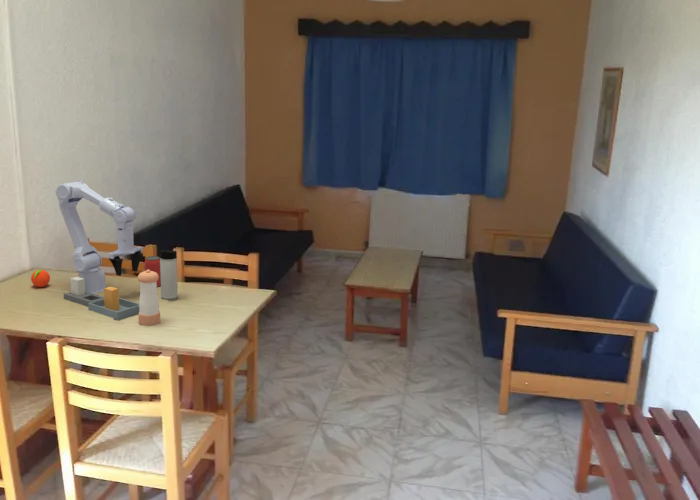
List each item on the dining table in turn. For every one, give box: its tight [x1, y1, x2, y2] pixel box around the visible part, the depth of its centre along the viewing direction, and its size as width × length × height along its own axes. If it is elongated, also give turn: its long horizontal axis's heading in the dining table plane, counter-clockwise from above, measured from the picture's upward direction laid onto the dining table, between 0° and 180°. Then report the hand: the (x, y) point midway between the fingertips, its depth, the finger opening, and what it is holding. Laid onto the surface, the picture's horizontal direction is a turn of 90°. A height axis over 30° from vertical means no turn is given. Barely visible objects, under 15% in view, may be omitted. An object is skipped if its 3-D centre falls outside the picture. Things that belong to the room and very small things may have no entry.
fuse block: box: [63, 291, 104, 307], centre depth 238 cm, size 7×16×2 cm, turn 58°
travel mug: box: [159, 249, 179, 301], centre depth 244 cm, size 6×7×20 cm
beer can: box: [144, 255, 161, 287], centre depth 261 cm, size 7×7×12 cm
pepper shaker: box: [137, 270, 161, 326], centre depth 219 cm, size 7×7×19 cm
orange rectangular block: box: [103, 286, 120, 311], centre depth 229 cm, size 3×4×8 cm
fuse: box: [69, 276, 85, 296], centre depth 239 cm, size 3×4×8 cm
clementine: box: [30, 269, 51, 288], centre depth 252 cm, size 8×7×7 cm
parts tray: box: [87, 297, 140, 321], centre depth 229 cm, size 11×16×3 cm
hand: (126, 273), depth 242 cm, fingers open, 7 cm apart
